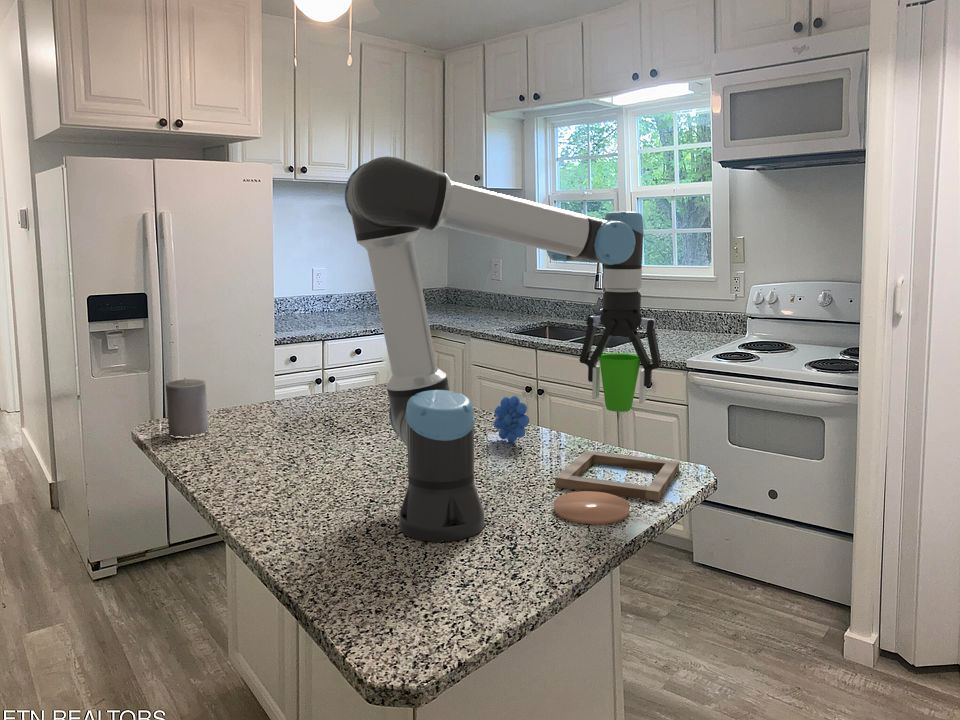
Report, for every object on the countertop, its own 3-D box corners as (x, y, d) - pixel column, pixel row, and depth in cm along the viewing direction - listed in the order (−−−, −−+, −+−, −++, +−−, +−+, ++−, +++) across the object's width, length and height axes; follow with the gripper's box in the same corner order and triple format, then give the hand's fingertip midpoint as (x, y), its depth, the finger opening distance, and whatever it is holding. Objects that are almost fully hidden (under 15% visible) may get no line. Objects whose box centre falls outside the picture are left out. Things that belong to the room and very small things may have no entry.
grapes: (540, 443, 187) (540, 396, 185) (521, 449, 182) (521, 400, 180) (507, 434, 195) (507, 388, 193) (488, 439, 191) (487, 392, 189)
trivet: (617, 529, 134) (618, 522, 134) (542, 517, 140) (542, 510, 139) (637, 503, 146) (637, 497, 146) (567, 493, 152) (567, 487, 152)
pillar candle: (162, 435, 198) (157, 378, 195) (197, 427, 205) (193, 372, 202) (181, 442, 192) (176, 383, 189) (216, 433, 199) (212, 377, 196)
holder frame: (658, 501, 147) (658, 491, 147) (555, 486, 156) (555, 477, 155) (679, 470, 166) (679, 461, 165) (585, 458, 175) (586, 450, 174)
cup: (641, 415, 152) (643, 360, 150) (595, 413, 154) (596, 359, 152) (640, 405, 161) (642, 353, 159) (597, 403, 163) (598, 352, 161)
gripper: (680, 290, 152) (675, 400, 156) (575, 287, 161) (573, 391, 165) (673, 293, 145) (668, 408, 149) (564, 289, 154) (562, 398, 158)
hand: (618, 399), depth 157 cm, fingers closed on cup, 9 cm apart
